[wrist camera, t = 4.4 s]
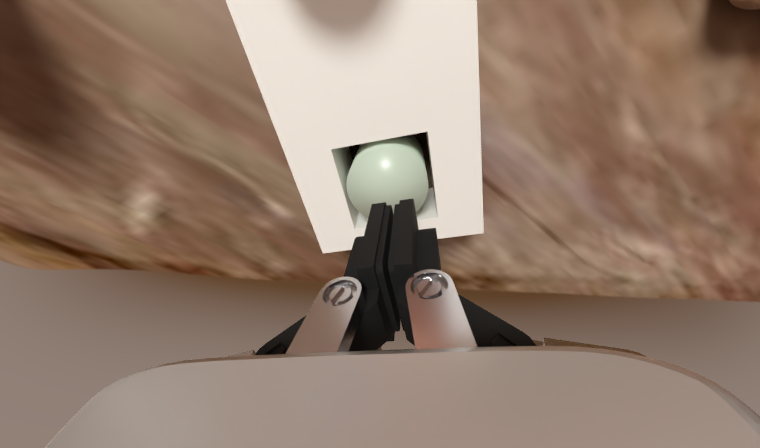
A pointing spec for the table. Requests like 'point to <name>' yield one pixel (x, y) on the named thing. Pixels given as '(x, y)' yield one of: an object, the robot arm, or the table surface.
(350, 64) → the button box
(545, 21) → the table surface
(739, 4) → the ornament
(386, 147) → the sage button
